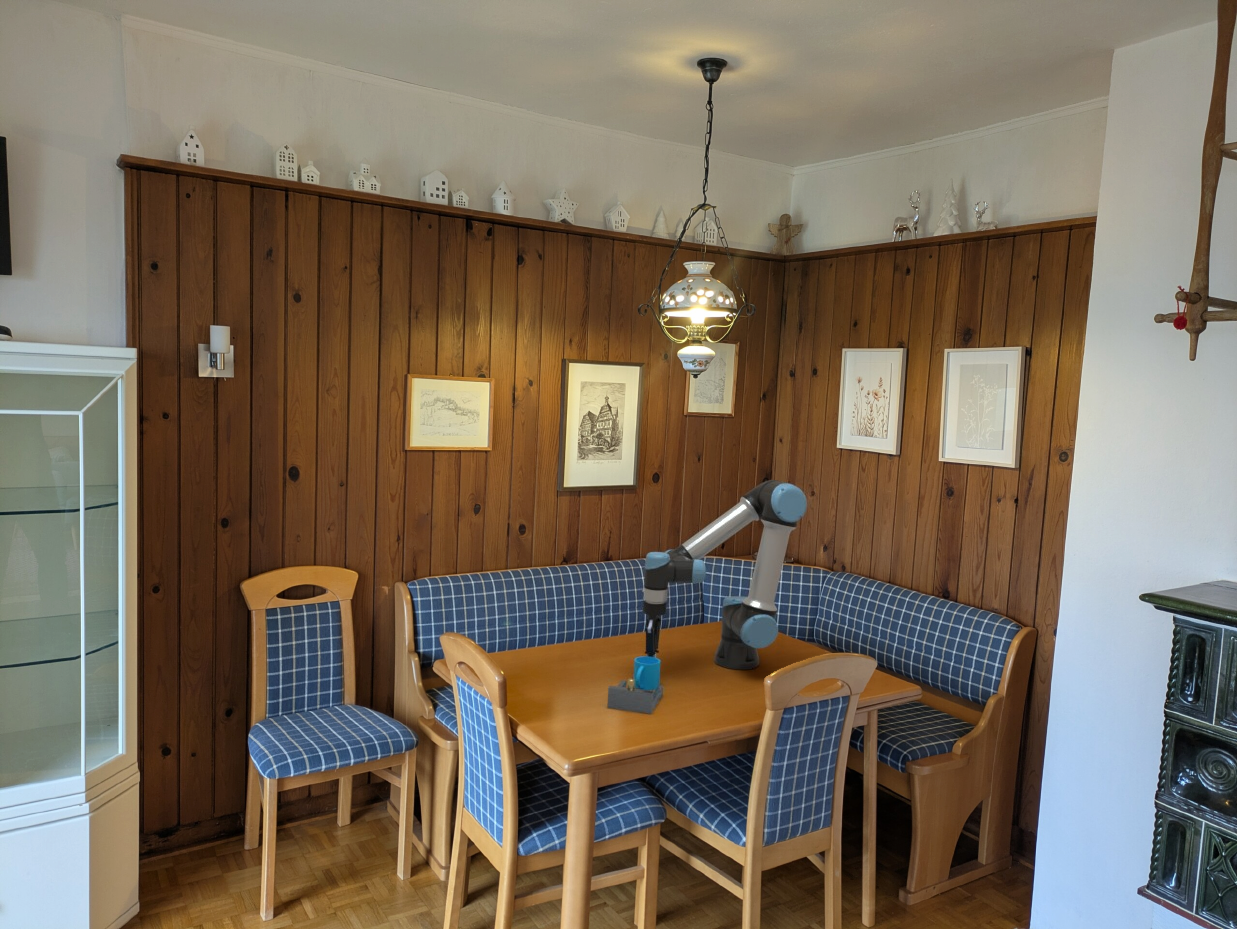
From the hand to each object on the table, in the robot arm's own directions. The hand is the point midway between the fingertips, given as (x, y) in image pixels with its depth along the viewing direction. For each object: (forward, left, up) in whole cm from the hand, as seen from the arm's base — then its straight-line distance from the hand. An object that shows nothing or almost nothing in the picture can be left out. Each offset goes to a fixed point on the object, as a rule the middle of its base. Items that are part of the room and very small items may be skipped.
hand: (650, 673), depth 280 cm
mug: (0, +9, -2) cm, 9 cm away
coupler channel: (0, +21, -2) cm, 21 cm away
